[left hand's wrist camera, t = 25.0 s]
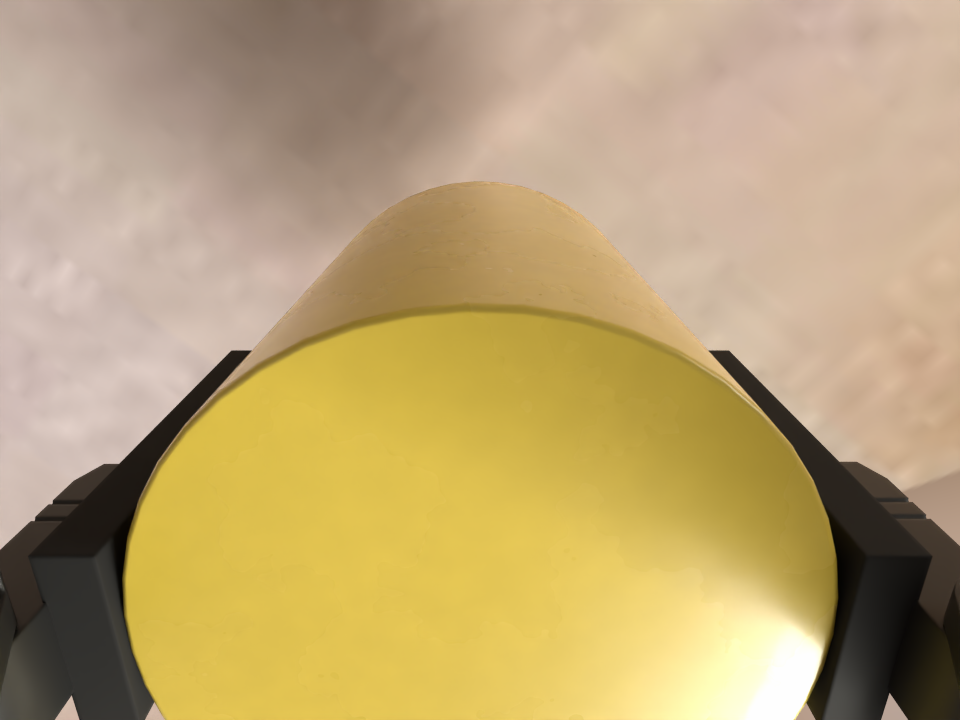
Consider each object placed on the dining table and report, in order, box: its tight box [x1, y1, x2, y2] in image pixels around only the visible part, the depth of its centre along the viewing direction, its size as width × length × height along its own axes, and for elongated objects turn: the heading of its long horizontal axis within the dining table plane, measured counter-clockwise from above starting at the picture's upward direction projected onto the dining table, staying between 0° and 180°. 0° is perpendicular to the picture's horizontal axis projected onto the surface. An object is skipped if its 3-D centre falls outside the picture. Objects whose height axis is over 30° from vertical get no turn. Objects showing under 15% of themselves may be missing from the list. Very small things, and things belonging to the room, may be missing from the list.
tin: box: [122, 182, 838, 720], centre depth 13 cm, size 9×9×10 cm
